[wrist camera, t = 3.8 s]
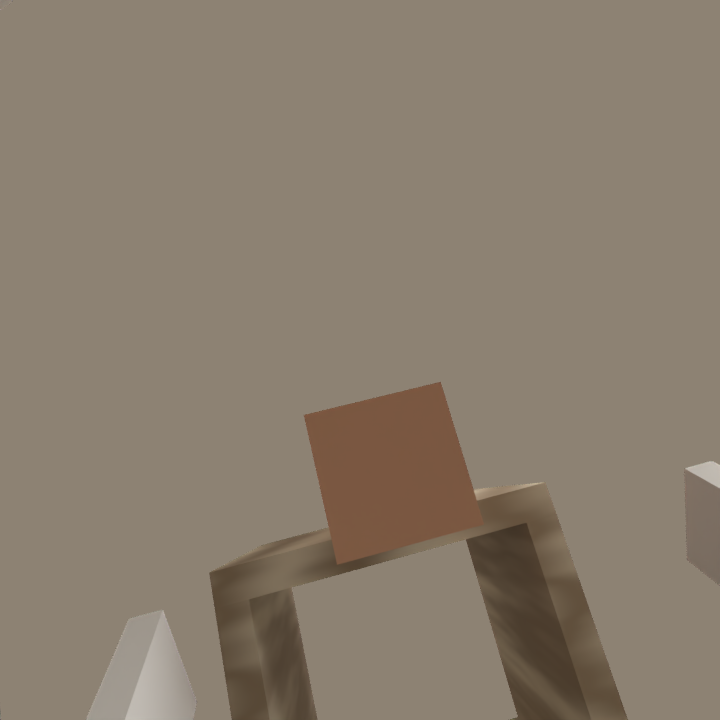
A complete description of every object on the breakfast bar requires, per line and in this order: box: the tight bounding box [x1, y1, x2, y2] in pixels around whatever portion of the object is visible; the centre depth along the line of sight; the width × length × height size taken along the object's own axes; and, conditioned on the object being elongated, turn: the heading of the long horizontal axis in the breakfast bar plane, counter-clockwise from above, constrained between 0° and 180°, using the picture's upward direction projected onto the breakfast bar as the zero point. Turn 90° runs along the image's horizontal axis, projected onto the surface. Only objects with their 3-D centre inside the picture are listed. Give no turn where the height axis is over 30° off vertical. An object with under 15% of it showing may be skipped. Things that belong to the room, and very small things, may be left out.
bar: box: [304, 382, 484, 565], centre depth 25 cm, size 4×24×4 cm, turn 2°
